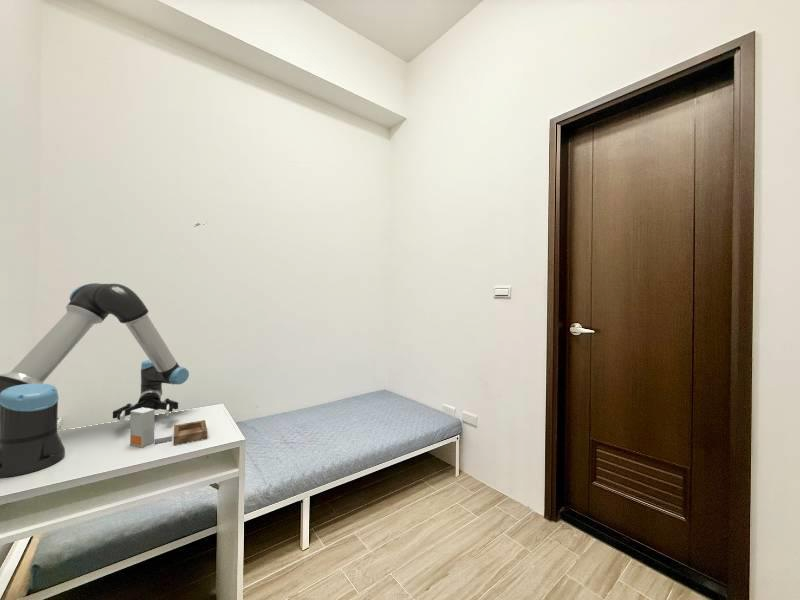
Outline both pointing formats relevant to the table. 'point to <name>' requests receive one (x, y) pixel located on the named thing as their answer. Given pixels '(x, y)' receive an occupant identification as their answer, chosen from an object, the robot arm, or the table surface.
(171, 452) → the table surface
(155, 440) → the flat gray slab
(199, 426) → the socket block
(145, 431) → the skincare box
